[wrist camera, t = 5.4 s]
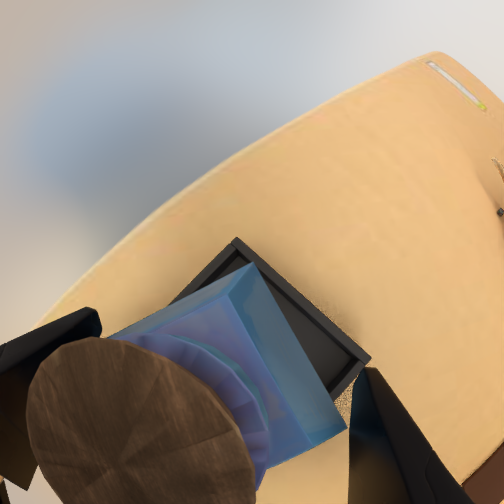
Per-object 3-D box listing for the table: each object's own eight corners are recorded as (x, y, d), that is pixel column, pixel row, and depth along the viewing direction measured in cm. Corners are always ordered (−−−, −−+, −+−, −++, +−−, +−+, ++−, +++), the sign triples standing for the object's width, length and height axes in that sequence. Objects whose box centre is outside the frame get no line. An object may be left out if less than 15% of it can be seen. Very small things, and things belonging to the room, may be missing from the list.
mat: (470, 527, 9) (472, 528, 9) (461, 484, 12) (463, 485, 11) (530, 465, 10) (532, 466, 9) (527, 412, 13) (529, 412, 12)
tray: (244, 470, 15) (242, 482, 13) (129, 358, 17) (115, 359, 15) (362, 356, 17) (372, 357, 15) (239, 246, 19) (236, 235, 17)
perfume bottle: (315, 396, 13) (449, 515, 2) (210, 445, 12) (101, 596, 1) (258, 295, 15) (232, 131, 3) (158, 347, 14) (-45, 319, 3)
